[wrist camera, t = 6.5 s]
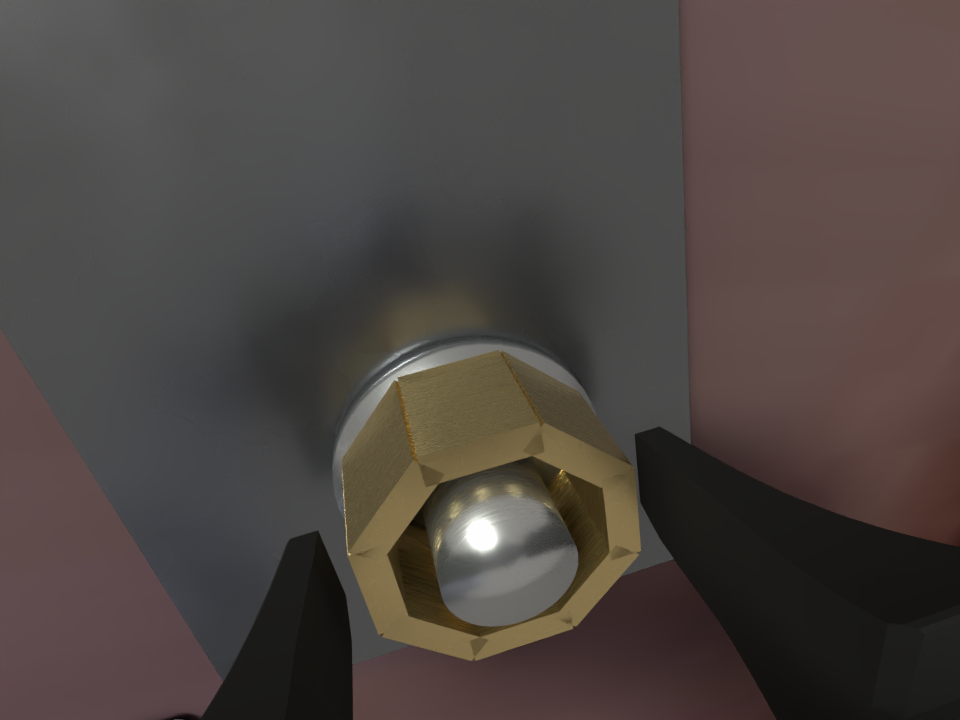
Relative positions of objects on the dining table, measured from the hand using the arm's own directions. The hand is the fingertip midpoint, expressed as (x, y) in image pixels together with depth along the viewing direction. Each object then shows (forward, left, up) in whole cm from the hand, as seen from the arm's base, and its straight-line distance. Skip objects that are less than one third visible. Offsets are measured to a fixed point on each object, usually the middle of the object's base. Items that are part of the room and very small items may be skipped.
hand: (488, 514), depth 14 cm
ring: (0, 0, -2) cm, 2 cm away
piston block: (+4, +1, -3) cm, 5 cm away
